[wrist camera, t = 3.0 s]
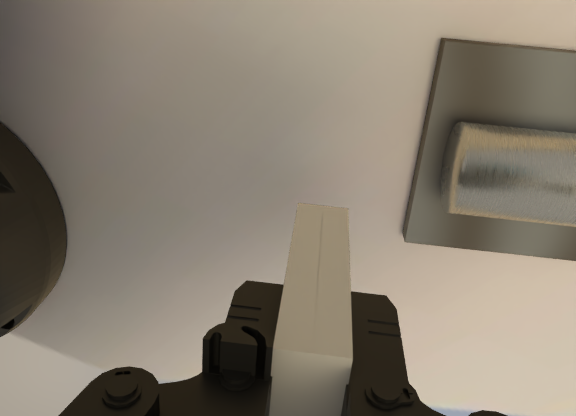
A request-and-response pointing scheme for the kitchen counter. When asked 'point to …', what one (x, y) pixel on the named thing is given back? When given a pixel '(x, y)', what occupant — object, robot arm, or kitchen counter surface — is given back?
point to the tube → (510, 174)
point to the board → (492, 111)
